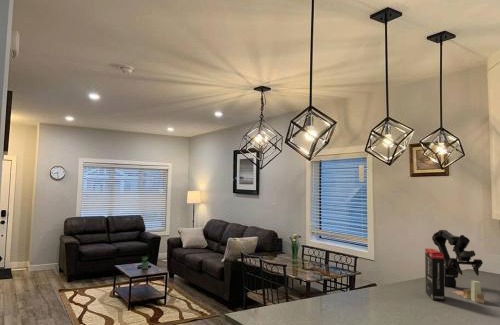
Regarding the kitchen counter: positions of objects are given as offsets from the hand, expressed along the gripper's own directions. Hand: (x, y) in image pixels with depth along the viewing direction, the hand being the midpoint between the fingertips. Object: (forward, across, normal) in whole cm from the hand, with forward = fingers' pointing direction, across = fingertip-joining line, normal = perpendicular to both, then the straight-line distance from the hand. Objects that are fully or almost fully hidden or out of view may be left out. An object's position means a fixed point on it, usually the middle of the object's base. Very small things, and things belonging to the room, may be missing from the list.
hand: (470, 275), depth 220 cm
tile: (+3, 0, +16) cm, 16 cm away
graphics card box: (+12, -22, +7) cm, 26 cm away
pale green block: (+14, 0, +5) cm, 15 cm away
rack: (+13, 0, +6) cm, 14 cm away
